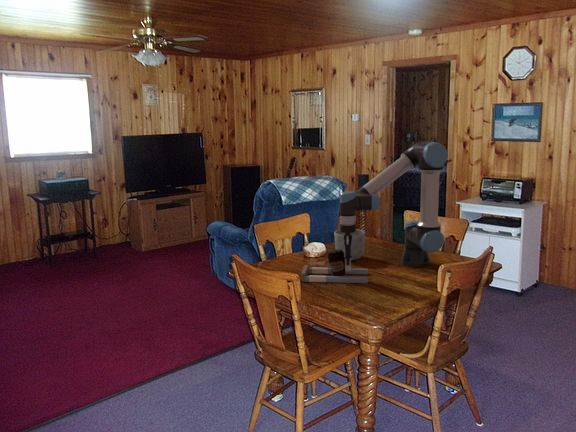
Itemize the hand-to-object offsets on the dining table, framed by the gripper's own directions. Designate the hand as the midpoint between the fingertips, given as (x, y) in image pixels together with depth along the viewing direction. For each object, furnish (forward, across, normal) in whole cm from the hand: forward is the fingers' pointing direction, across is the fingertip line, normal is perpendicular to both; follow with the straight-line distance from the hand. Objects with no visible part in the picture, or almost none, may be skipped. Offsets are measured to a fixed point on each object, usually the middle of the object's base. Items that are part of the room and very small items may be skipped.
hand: (348, 270), depth 258 cm
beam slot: (+4, 0, -6) cm, 7 cm away
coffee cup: (+3, 0, -4) cm, 5 cm away
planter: (+4, -35, 0) cm, 35 cm away
